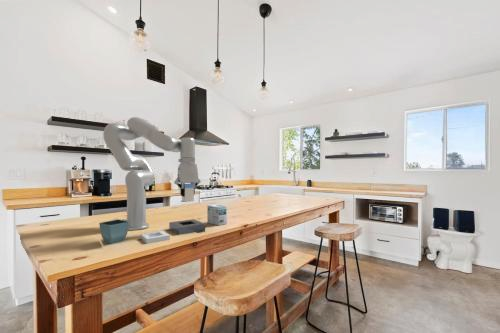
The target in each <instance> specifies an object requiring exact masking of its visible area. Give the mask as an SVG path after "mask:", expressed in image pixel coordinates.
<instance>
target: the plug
mask: <svg viewBox="0 0 500 333" xmlns="http://www.w3.org/2000/svg"><path fill="white" fill-rule="evenodd" d="M184 189H185V196H184V197H183V196H181V201H182V202H183V203H188V202H195V194H194V184H191V183H185V185H184Z"/></svg>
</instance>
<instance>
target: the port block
mask: <svg viewBox="0 0 500 333" xmlns="http://www.w3.org/2000/svg"><path fill="white" fill-rule="evenodd" d="M168 224H169V225H168V226H169V227H168V229H169V230H170V231H172V232H174V233H175V234H177V235H179V236H181V235H186V234H192V233H196V234H199V233H205V232H206V223H204V222H202V221H199V220H197V219H194V218H192V219H186V220H185V219H184V220H177V221H176V220H175V221H169V223H168Z"/></svg>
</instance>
